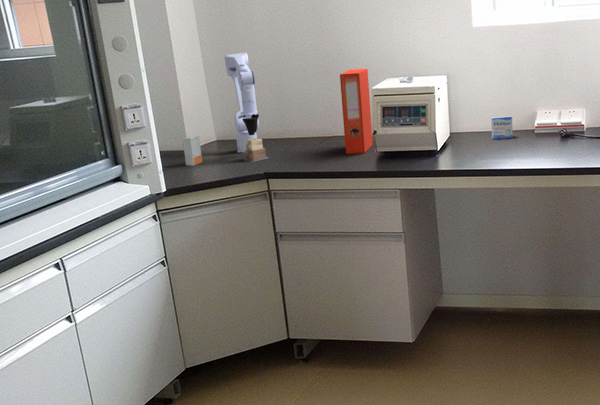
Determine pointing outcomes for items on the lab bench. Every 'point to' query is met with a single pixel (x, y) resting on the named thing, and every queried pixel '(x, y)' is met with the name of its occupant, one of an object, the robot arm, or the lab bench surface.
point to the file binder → (356, 111)
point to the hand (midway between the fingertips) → (252, 133)
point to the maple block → (254, 144)
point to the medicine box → (502, 127)
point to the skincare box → (192, 150)
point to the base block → (255, 154)
